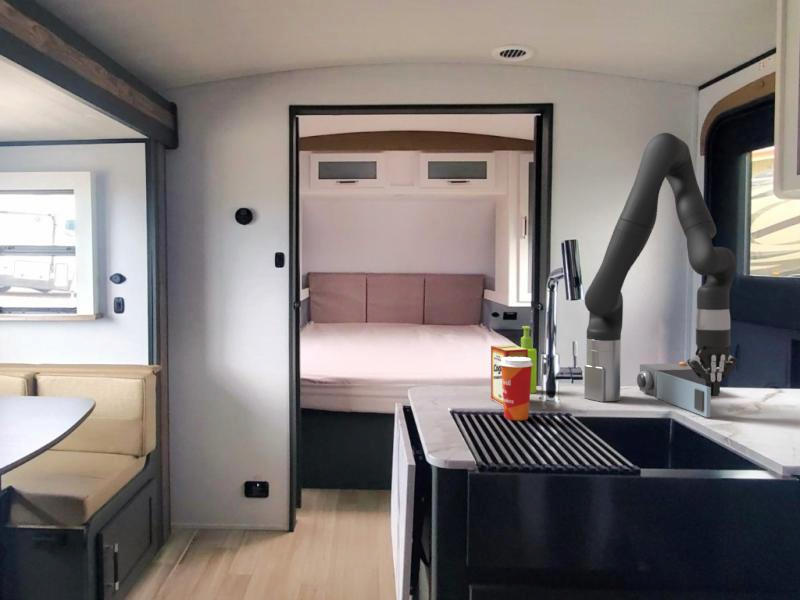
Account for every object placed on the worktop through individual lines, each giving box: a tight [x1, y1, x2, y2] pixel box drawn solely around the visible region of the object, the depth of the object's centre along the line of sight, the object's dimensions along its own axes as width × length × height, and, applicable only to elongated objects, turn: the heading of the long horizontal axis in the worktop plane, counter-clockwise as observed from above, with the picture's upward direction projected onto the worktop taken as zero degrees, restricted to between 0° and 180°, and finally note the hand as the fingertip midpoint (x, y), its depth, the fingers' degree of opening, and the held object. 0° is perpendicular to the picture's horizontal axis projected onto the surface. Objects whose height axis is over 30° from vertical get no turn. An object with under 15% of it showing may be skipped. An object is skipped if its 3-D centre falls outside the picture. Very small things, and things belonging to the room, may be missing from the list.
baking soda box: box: [490, 344, 528, 404], centre depth 153 cm, size 10×6×16 cm
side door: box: [654, 371, 712, 418], centre depth 146 cm, size 2×22×7 cm, turn 7°
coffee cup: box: [500, 357, 533, 421], centre depth 138 cm, size 8×8×15 cm
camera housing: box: [636, 361, 706, 397], centre depth 163 cm, size 10×18×9 cm, turn 95°
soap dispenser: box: [520, 325, 538, 394], centre depth 168 cm, size 6×7×20 cm
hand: (712, 395), depth 137 cm, fingers closed
